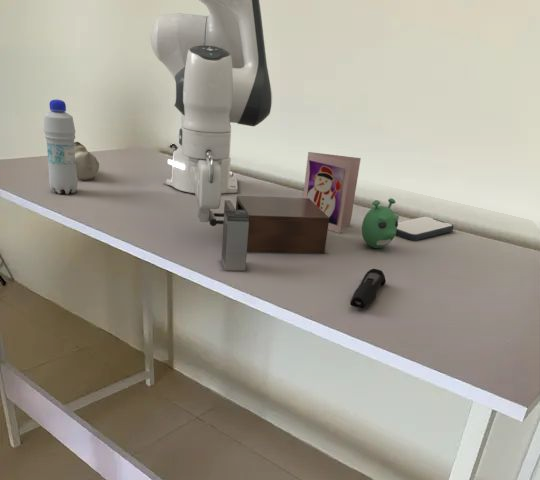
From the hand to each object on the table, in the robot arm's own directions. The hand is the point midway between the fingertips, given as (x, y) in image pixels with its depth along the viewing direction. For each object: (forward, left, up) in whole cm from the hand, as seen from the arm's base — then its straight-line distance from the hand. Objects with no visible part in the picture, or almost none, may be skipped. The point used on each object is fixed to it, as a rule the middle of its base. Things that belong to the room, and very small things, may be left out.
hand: (203, 219), depth 117 cm
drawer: (-3, +10, -3) cm, 11 cm away
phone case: (-26, +45, -4) cm, 52 cm away
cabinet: (-5, +14, -4) cm, 16 cm away
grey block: (+13, +9, -4) cm, 16 cm away
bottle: (-21, -38, -4) cm, 44 cm away
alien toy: (-9, +35, -4) cm, 36 cm away
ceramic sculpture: (-38, -42, -4) cm, 57 cm away
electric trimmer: (+19, +33, -4) cm, 38 cm away
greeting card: (-22, +24, -4) cm, 33 cm away
